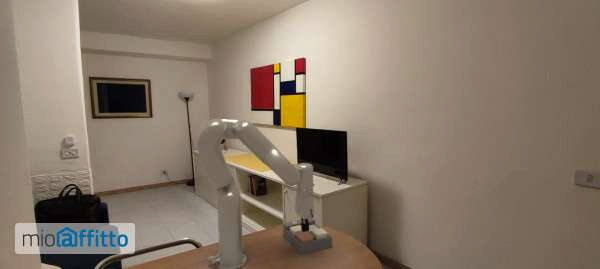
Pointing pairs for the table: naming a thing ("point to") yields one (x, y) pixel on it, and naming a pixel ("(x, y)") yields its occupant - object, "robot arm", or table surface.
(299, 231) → the key cream left
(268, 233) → the table surface
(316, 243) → the keypad
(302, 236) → the key terracotta
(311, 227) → the key sage
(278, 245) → the table surface
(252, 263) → the table surface
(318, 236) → the key cream right
